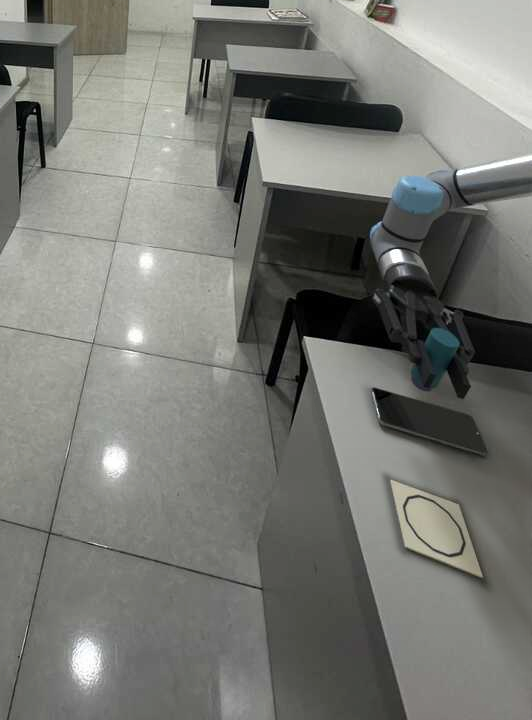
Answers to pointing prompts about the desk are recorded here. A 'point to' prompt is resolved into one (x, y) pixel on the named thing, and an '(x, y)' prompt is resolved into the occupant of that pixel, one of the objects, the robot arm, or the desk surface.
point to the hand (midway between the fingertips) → (446, 386)
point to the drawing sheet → (434, 528)
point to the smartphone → (428, 421)
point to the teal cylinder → (437, 356)
